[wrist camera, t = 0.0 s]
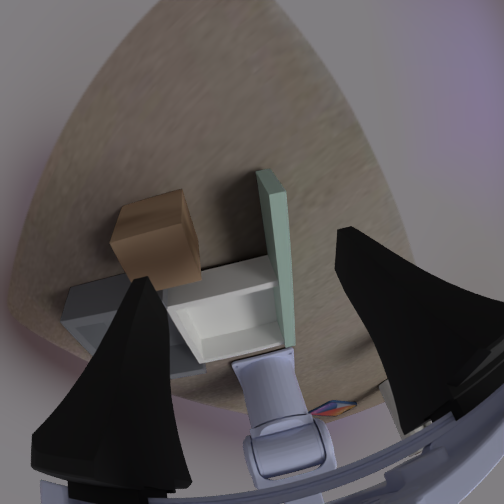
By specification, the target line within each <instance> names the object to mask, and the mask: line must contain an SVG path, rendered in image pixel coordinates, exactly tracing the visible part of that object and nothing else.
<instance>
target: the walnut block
mask: <svg viewBox="0 0 504 504" xmlns="http://www.w3.org/2000/svg"><path fill="white" fill-rule="evenodd" d="M110 245H111V247H112V249H113V251H114V253H115V255H116V256H117V258H118V260H119V262H120V264H121V266H122V267H123V269H124V271H125V273H126V274H127V276H128V278H129V280H130V281H131V283H132V281H133V279H137V278H141V277H145V276H148V277H149V279H150V281H151V283H152V284H153V286H154V288H155V290H156V291H159V290H163V289H167V288H171V287H176V286H180V285H184V284H189V283H193V282H197V281H201V280H202V277H201V267H200V256H199V245H198V238H197V235H196V232H195V229H194V226H193V223H192V220H191V216H190V213H189V210H188V207H187V203H186V200H185V197H184V193H183V190H182V189H179V190H176V191H172V192H168V193H165V194H161V195H158V196H154V197H151V198H147V199H144V200H141V201H137V202H134V203H131V204H128V205H124V206H122V209H121V211H120V214H119V217H118V220H117V222H116V225H115V228H114V231H113V234H112V237H111V240H110Z"/></svg>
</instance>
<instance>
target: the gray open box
mask: <svg viewBox="0 0 504 504" xmlns="http://www.w3.org/2000/svg"><path fill="white" fill-rule="evenodd" d="M130 285H131V281H130V280H129V278H128V276H127V274H126V273H124V274H120V275H116V276H113V277H109V278H105V279H101V280H97V281H93V282H89V283H85V284H82V285H78V286H74V287H70V290H69V293H68V297H67V300H66V303H65V306H64V310H63V313H62V316H61V320H60V322H61V323H62V325H63V326H64V327H65V328H66V329H67V330H68V331H69V332H70V333H71V334H72V335H73V337H74V338H75V339H76V340H77V341H78V342H79V343H80V344H81V345H82V346H83V347H84V348H85V349H86V350H87V351H88V352H89V353H90V354H91V355H92V356H93V355H94V353H95V352H96V350H97V348H98V346H99V345H100V343H101V341H102V339H103V337H104V335H105V333H106V332H107V330H108V328H109V326H110V324H111V322H112V320H113V318H114V316H115V314H116V312H117V310H118V308H119V306H120V304H121V302H122V300H123V298H124V296H125V294H126V292H127V290H128V288H129V287H130ZM156 292H157V294H158V295H159V297H160V299H161V301H162V303H163V304H164V306H165V308H166V310H167V309H168V288H167V289H163V290H159V291H156ZM167 315H168V323H169V332H170V379H175V378H181V377H187V376H193V375H198V374H203V373H207V372H206V365H205V363H201V364H199V362H198V360H197V359H196V357H195V356H194V354H193V353H192V351H191V349H190V348H189V346H188V345H187V343H186V341H185V340H184V338H183V337H182V335H181V333H180V332H179V330H178V328H177V327H176V325H175V323H174V322H173V320H172V318H171V316H170V315H169V313H168V311H167Z"/></svg>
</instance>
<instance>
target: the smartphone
mask: <svg viewBox="0 0 504 504" xmlns="http://www.w3.org/2000/svg"><path fill="white" fill-rule="evenodd" d="M355 406H357V403H356V402H347V401H336V400H332V401H329V402H327V403H325V404H323V405H321V406H319V407H317V408H315V409H313V410H311V411H309V412H308V414H310V413H311V415H317V416H338V415H340V414H342V413H344V412H346V411H348V410H350V409H352V408H353V407H355Z"/></svg>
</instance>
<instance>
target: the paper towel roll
mask: <svg viewBox="0 0 504 504" xmlns="http://www.w3.org/2000/svg"><path fill="white" fill-rule="evenodd" d="M379 390H380V392H381V394H382V396H383V398H384V400H385V403H386V405H387V407H388V409H389V411H390V414H391V416H392V418H393V420H394V423H395V425H396V427H397V429H398V432H399V434H400V437H401V439H402V440H404V439H405V438H407V437H409V436H411V435H413V434H415V433H416V432H418V431H420V430H422V429H423V428H425V427H427V426H428V425H430V424H431V422H430V421H429V422H428V423H426V424H424V425H422V426H421V427H419V428H417V429H415V430H414V431H412V432H410V433H408V434H406V435H404V434H403V432H402V429H401V427H400V422H399V417H398V413H397V409H396V405H395V401H394V397H393V394H392V391H391V387H390V384H389V381H388V379H387V380H386V381H384V382H383V383H381V384H380V385H379ZM423 448H424V447H423ZM423 448H421V449H420V450H418V451H416V452H414V453H413V454H411V455H409V457H410V456H413V455H416V454H418V453H420V452H421V451H422V450H423Z"/></svg>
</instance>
